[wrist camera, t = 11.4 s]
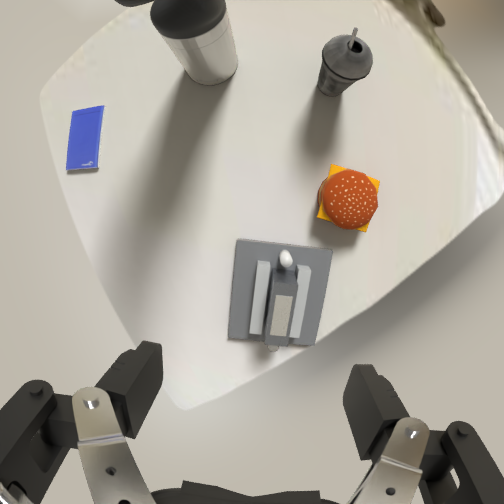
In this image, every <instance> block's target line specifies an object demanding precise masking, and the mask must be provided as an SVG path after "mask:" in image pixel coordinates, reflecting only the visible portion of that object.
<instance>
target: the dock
mask: <svg viewBox="0 0 504 504" xmlns="http://www.w3.org/2000/svg"><path fill="white" fill-rule="evenodd" d="M332 253H333V251H332V250H331V249H325V248H316V247H308V246H299V245H291V244H282V243H274V242H265V241H256V240H247V239H237V245H236V256H235V266H234V277H233V288H232V299H231V310H230V321H229V333H228V337H230V338H237V339H246V340H255V341H264V342H265V317H266V310H267V303H268V296H269V288H270V281H271V274H272V268H279V269H287V270H293V271H294V274H295V277H296V280H297V282H298V285H299V286H298V292H297V298H296V303H295V309H294V315H293V320H292V325H291V331H290V336H289V341H288V344H299V345H315V340H316V336H317V331H318V327H319V322H320V318H321V313H322V308H323V303H324V298H325V293H326V287H327V282H328V276H329V271H330V265H331V259H332ZM268 349H269V350H270V351H272V352H275V351H277V350H278V349H279V346H276V345H268Z"/></svg>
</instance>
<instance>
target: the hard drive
mask: <svg viewBox="0 0 504 504" xmlns="http://www.w3.org/2000/svg"><path fill="white" fill-rule="evenodd" d="M105 107H106V106H97V107H91V108H86V109H81V110H76V111H73V112H72V119H71V126H70V133H69V141H68V151H67V163H66V170H78V169H90V168H99V163H100V150H101V139H102V130H103V121H104V114H105Z"/></svg>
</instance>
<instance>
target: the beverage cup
mask: <svg viewBox="0 0 504 504" xmlns="http://www.w3.org/2000/svg"><path fill="white" fill-rule="evenodd" d="M357 31H358V28H356V27H355V28H354V30H353V33H352V35H339V36H336V37H334V38H332V39H331V40H330V41H329V42H328V43H327V44H325V46H324V48H323V50H322V65H321V69H320V73H319V77H318V87H319V89H320V91H321V92H322V93H324V94H325V95H327V96H337V95H339V94H340V93H342V92H343V91H344V90H346V89H347V88H348V87H349V86H351V85H352V84H353V83H354V82H356V81H358V80H360V79H363V78H365V77H366V76H367V75H368V74H369V72H370V70H371V67H372V64H373V56H372V53H371V50H370V48H369V47H368V45H367V44H366V43H365V42H364V41H362V40H361V39H359V38H357V37H356V34H357Z"/></svg>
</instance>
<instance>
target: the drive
mask: <svg viewBox="0 0 504 504" xmlns="http://www.w3.org/2000/svg"><path fill="white" fill-rule="evenodd" d="M298 286H299V285H298V282H297V280H296V277H295V274H294V271H293V270H287V269H279V268H272V274H271V281H270V288H269V296H268V303H267V310H266V317H265V344H266V345H276V346H288V341H289V336H290V331H291V325H292V320H293V315H294V309H295V303H296V298H297V292H298Z"/></svg>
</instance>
